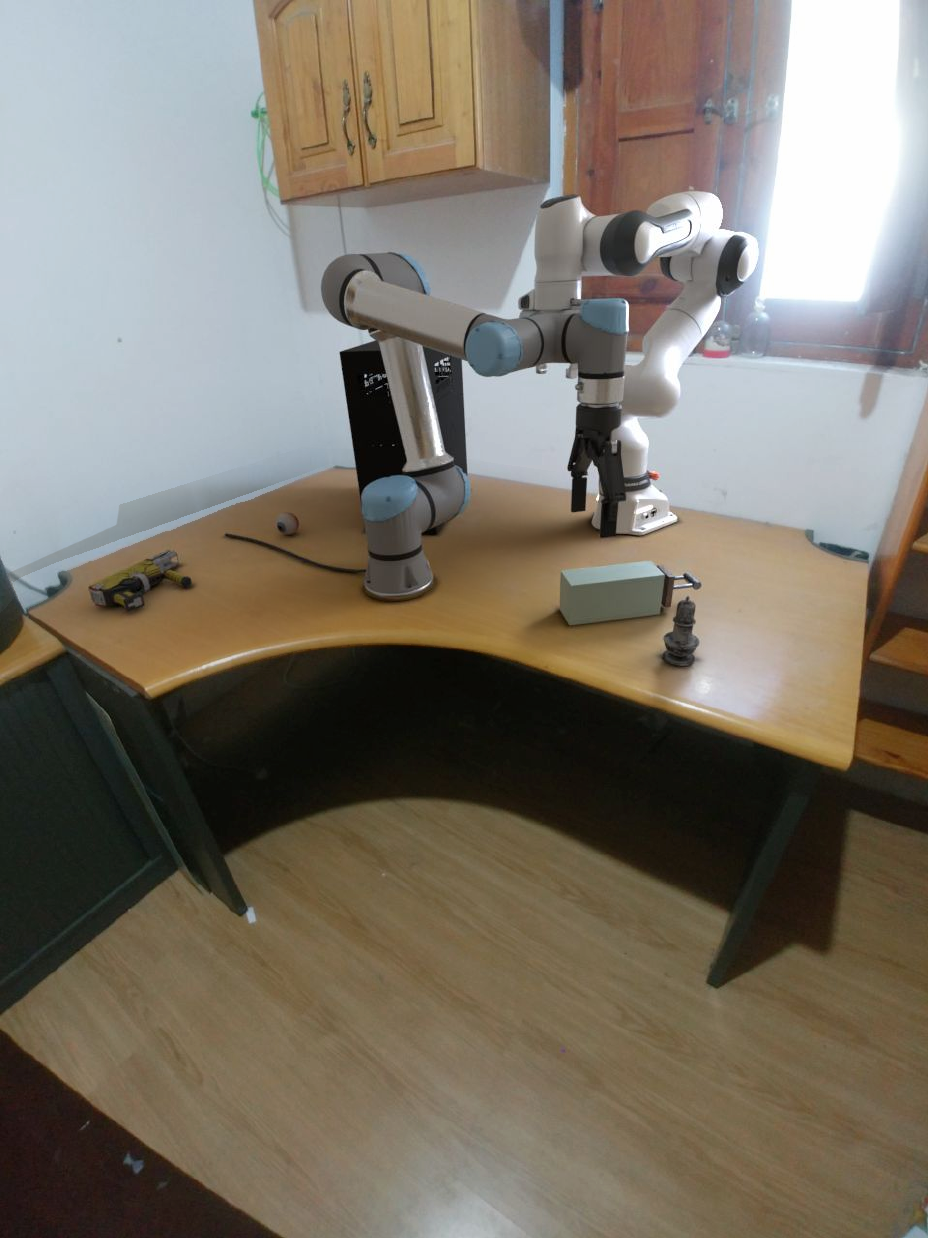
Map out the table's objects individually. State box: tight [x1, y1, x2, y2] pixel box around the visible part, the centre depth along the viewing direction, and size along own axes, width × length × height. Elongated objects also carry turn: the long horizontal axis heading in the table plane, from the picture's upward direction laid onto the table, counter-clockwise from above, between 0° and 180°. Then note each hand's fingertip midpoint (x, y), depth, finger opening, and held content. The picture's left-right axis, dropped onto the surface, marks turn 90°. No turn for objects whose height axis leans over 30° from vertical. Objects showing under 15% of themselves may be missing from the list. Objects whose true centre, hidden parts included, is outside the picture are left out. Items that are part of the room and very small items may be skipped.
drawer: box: [656, 564, 702, 609], centre depth 118 cm, size 23×6×7 cm, turn 99°
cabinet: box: [558, 560, 665, 626], centre depth 118 cm, size 18×7×9 cm, turn 99°
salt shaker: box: [662, 595, 700, 667], centre depth 102 cm, size 6×6×12 cm
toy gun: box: [87, 549, 193, 614], centre depth 138 cm, size 5×24×15 cm
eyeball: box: [275, 511, 300, 536], centre depth 163 cm, size 6×6×6 cm
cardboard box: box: [339, 339, 469, 535], centre depth 166 cm, size 38×20×45 cm, turn 167°
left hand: (592, 523), depth 111 cm, fingers open, 13 cm apart
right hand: (555, 375), depth 122 cm, fingers open, 8 cm apart
